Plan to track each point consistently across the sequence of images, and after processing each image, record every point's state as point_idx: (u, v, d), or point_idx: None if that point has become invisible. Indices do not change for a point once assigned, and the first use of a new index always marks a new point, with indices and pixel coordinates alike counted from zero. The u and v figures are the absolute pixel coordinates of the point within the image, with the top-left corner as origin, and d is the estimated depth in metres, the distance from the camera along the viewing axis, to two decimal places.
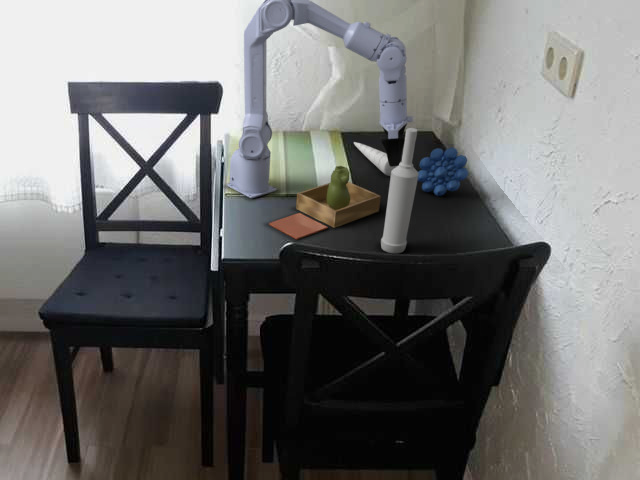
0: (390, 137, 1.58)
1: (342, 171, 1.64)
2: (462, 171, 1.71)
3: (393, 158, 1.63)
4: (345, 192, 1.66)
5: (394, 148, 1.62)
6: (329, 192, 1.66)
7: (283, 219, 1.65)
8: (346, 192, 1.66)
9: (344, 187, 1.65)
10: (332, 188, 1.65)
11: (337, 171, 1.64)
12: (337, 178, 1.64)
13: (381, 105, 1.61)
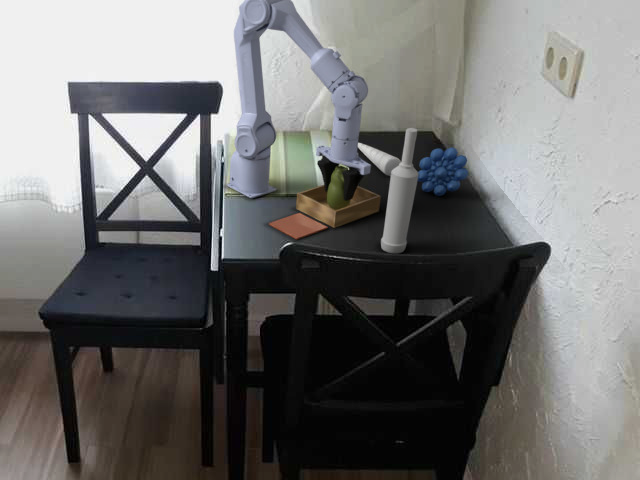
0: (365, 173, 1.59)
1: (342, 171, 1.64)
2: (462, 171, 1.71)
3: (350, 192, 1.65)
4: None
5: (352, 182, 1.64)
6: (329, 192, 1.66)
7: (283, 219, 1.65)
8: None
9: None
10: (333, 188, 1.65)
11: (337, 171, 1.64)
12: (337, 178, 1.64)
13: (342, 143, 1.59)
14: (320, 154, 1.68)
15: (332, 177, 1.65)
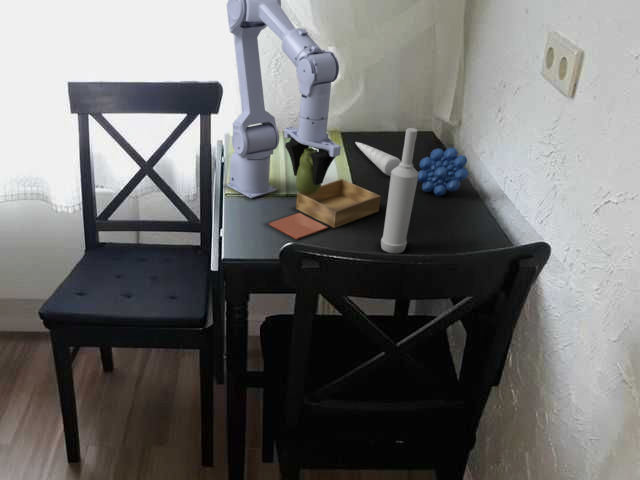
0: (334, 155, 1.49)
1: None
2: (462, 171, 1.71)
3: (320, 176, 1.55)
4: None
5: (322, 165, 1.54)
6: (298, 176, 1.57)
7: (283, 219, 1.65)
8: None
9: None
10: (301, 171, 1.56)
11: (306, 153, 1.54)
12: (306, 160, 1.54)
13: (309, 123, 1.49)
14: (288, 136, 1.58)
15: (301, 160, 1.55)
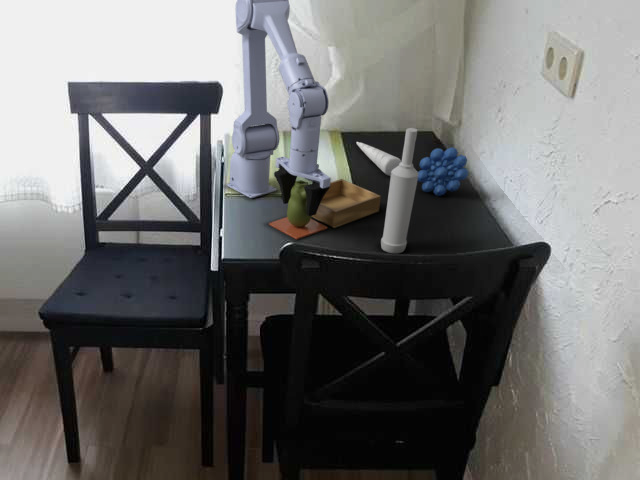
0: (324, 186, 1.51)
1: (302, 186, 1.56)
2: (462, 171, 1.71)
3: (313, 207, 1.57)
4: (306, 208, 1.58)
5: (315, 197, 1.55)
6: (289, 208, 1.59)
7: (283, 219, 1.65)
8: None
9: (304, 203, 1.58)
10: (292, 203, 1.58)
11: (297, 186, 1.57)
12: (296, 193, 1.57)
13: (300, 155, 1.51)
14: (280, 166, 1.60)
15: (291, 192, 1.58)
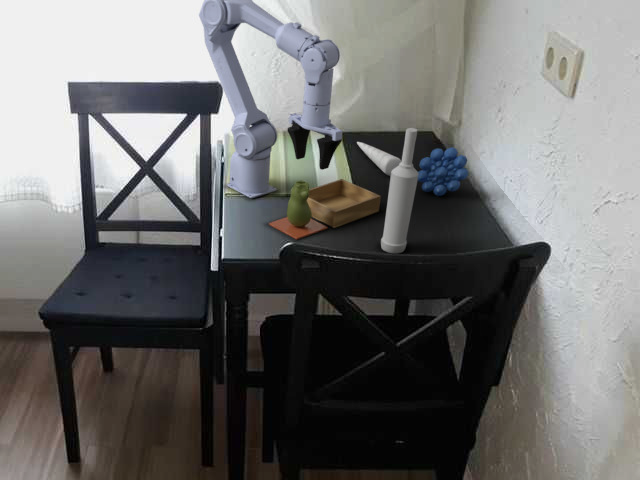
0: (336, 139, 1.57)
1: (302, 186, 1.56)
2: (462, 171, 1.71)
3: (326, 161, 1.62)
4: (306, 208, 1.58)
5: (327, 150, 1.61)
6: (289, 208, 1.59)
7: (283, 219, 1.65)
8: (307, 208, 1.59)
9: (304, 203, 1.58)
10: (292, 203, 1.58)
11: (297, 186, 1.57)
12: (296, 193, 1.57)
13: (313, 109, 1.57)
14: (293, 122, 1.66)
15: (291, 192, 1.58)
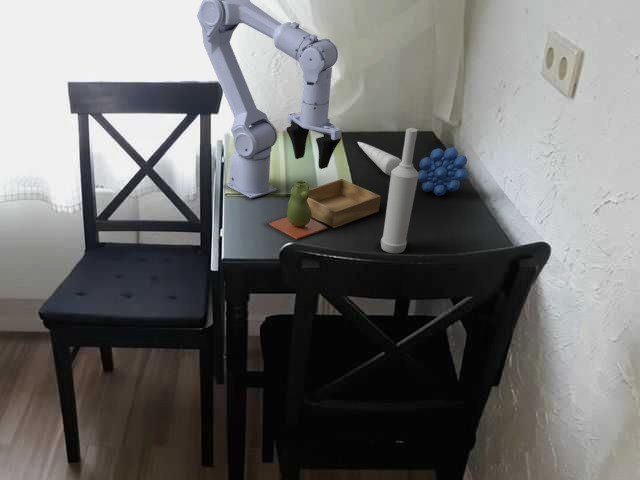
0: (335, 138, 1.57)
1: (302, 186, 1.56)
2: (462, 171, 1.71)
3: (325, 160, 1.62)
4: (306, 208, 1.58)
5: (326, 150, 1.61)
6: (289, 208, 1.59)
7: (283, 219, 1.65)
8: (307, 208, 1.59)
9: (304, 203, 1.58)
10: (292, 203, 1.58)
11: (297, 186, 1.57)
12: (296, 193, 1.57)
13: (311, 108, 1.57)
14: (292, 122, 1.66)
15: (291, 192, 1.58)
